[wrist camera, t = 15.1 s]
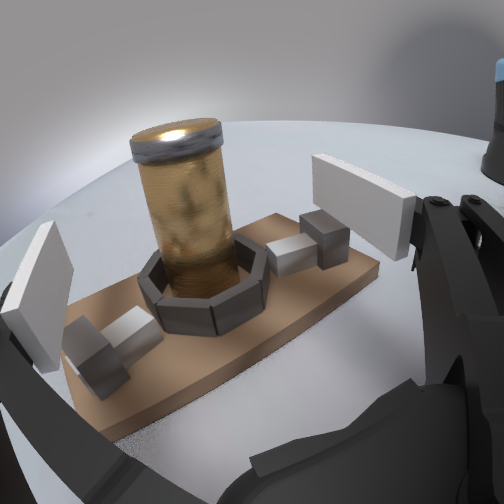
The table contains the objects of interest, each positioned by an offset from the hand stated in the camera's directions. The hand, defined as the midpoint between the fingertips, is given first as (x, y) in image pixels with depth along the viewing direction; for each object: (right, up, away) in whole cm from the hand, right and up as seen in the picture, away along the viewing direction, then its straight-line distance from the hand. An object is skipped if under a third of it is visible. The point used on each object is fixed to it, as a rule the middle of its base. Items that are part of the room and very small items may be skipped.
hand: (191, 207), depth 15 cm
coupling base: (0, -6, +9) cm, 11 cm away
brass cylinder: (0, -5, +9) cm, 10 cm away
